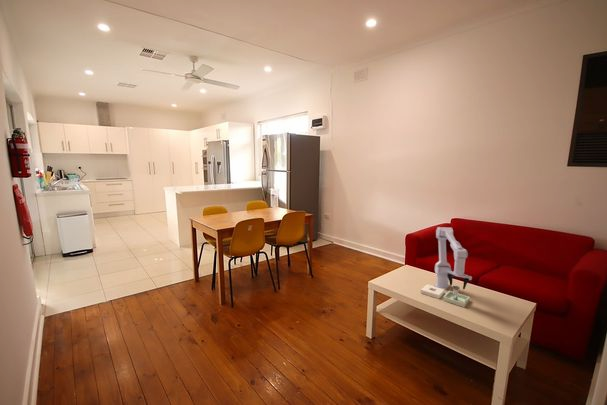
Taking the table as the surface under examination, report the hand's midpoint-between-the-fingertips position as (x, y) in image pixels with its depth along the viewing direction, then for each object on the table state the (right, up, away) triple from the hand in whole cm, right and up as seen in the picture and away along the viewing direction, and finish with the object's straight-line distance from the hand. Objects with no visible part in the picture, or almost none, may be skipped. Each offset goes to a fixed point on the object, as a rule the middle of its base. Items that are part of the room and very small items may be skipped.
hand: (457, 287), depth 180 cm
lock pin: (-1, -9, +2) cm, 9 cm away
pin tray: (0, -9, +1) cm, 9 cm away
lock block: (-11, -8, +11) cm, 18 cm away
